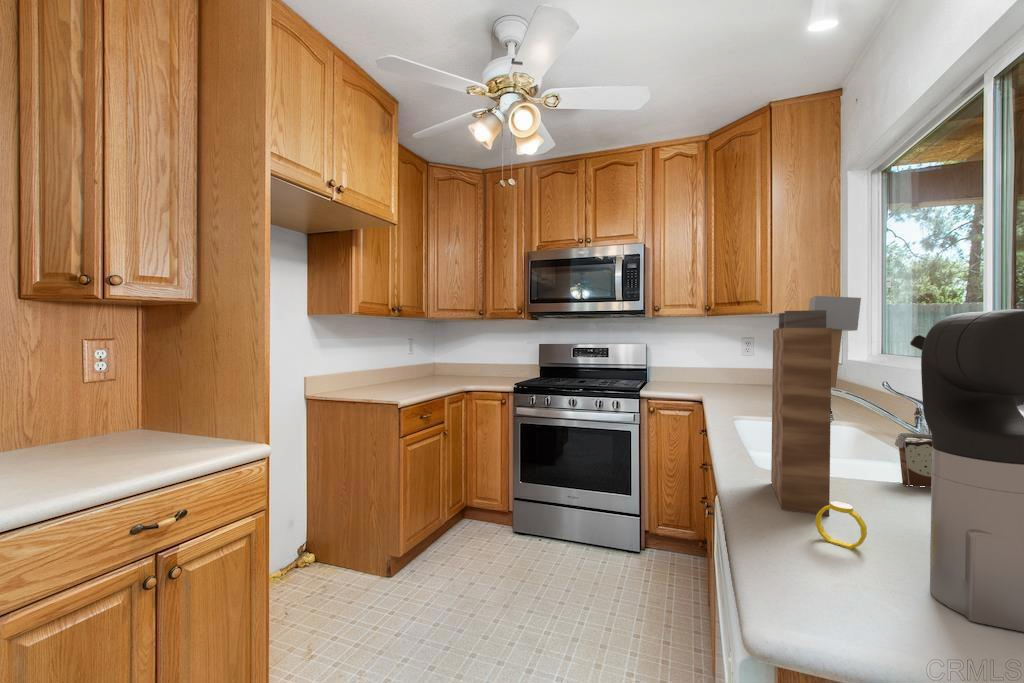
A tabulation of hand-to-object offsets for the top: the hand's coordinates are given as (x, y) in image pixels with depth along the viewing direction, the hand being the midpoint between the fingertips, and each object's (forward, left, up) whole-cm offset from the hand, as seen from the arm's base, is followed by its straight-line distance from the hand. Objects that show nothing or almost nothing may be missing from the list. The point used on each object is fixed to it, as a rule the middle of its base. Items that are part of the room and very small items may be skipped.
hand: (923, 339), depth 81 cm
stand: (-4, +19, -30) cm, 36 cm away
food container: (+18, -6, -30) cm, 36 cm away
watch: (-24, +17, -30) cm, 42 cm away
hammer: (+1, +17, 0) cm, 17 cm away
